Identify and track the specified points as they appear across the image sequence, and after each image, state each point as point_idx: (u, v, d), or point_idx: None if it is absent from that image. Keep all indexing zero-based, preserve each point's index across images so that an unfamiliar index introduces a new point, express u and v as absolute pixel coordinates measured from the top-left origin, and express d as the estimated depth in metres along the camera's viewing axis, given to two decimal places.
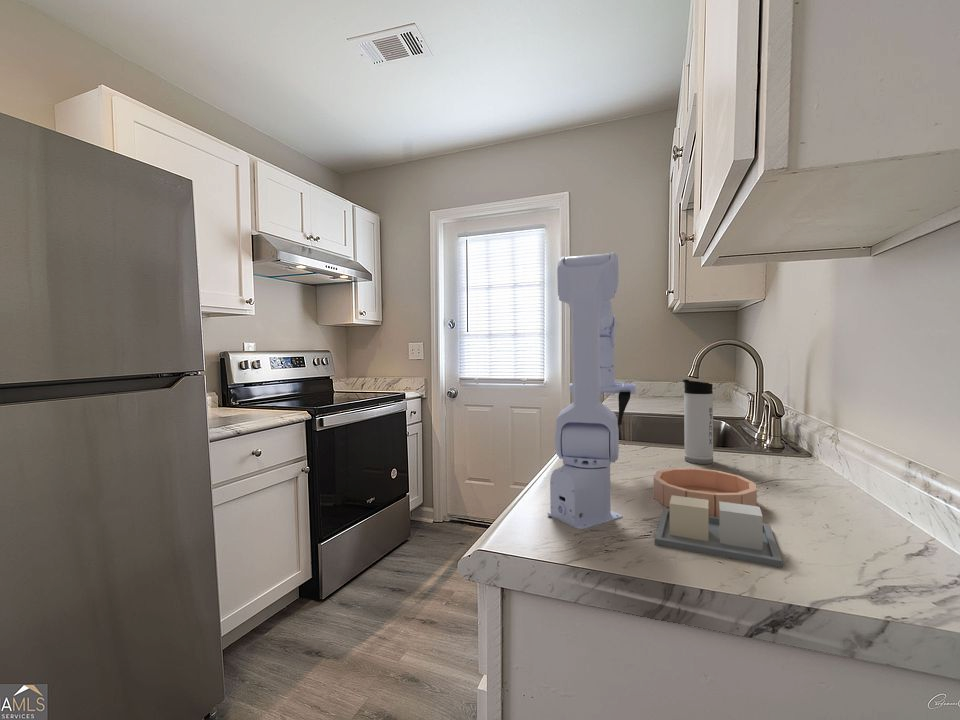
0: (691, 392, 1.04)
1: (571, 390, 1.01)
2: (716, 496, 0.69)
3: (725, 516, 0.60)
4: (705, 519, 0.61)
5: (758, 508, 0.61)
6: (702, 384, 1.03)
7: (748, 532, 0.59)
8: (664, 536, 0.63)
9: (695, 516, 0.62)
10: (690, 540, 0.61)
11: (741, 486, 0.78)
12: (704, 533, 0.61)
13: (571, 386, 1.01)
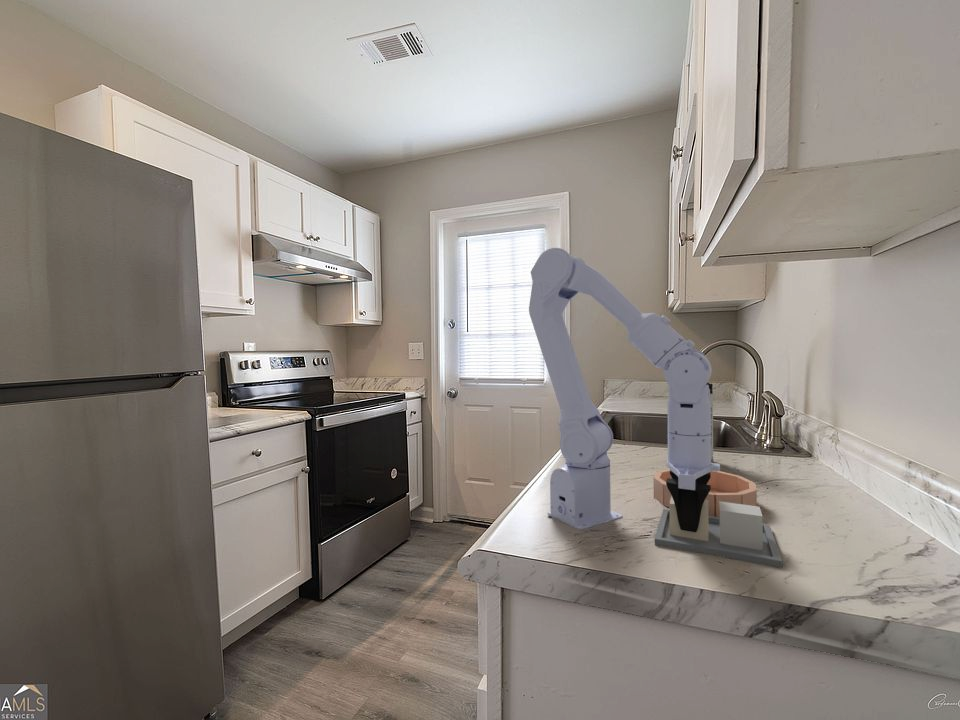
0: None
1: None
2: (716, 496, 0.69)
3: (725, 516, 0.60)
4: (705, 519, 0.61)
5: (758, 508, 0.61)
6: None
7: (748, 532, 0.59)
8: (664, 536, 0.63)
9: None
10: (690, 540, 0.61)
11: (741, 486, 0.78)
12: (704, 533, 0.61)
13: None
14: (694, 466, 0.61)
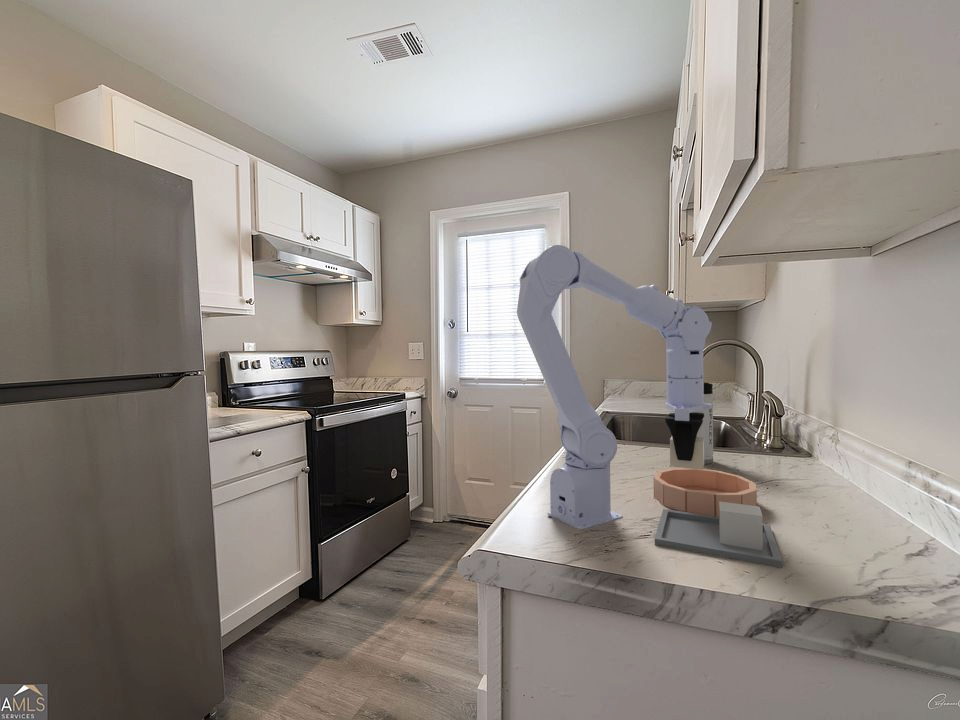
0: None
1: None
2: (716, 496, 0.69)
3: (725, 516, 0.60)
4: (700, 451, 0.71)
5: (758, 508, 0.61)
6: None
7: (748, 532, 0.59)
8: (664, 536, 0.63)
9: None
10: (690, 540, 0.61)
11: (741, 486, 0.78)
12: (699, 463, 0.71)
13: None
14: (689, 404, 0.71)
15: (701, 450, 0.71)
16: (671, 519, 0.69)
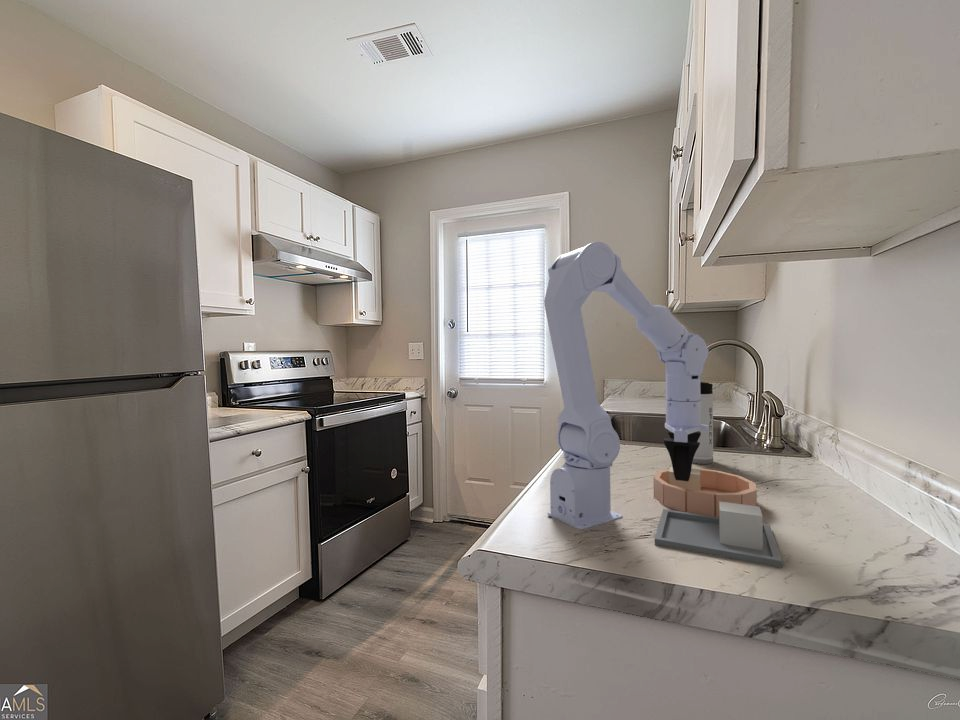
0: None
1: None
2: (716, 496, 0.69)
3: (725, 516, 0.60)
4: (697, 483, 0.76)
5: (758, 508, 0.61)
6: (702, 384, 1.03)
7: (748, 532, 0.59)
8: (664, 536, 0.63)
9: (689, 481, 0.77)
10: (690, 540, 0.61)
11: (741, 486, 0.78)
12: None
13: None
14: (687, 426, 0.76)
15: (698, 482, 0.76)
16: (671, 519, 0.69)
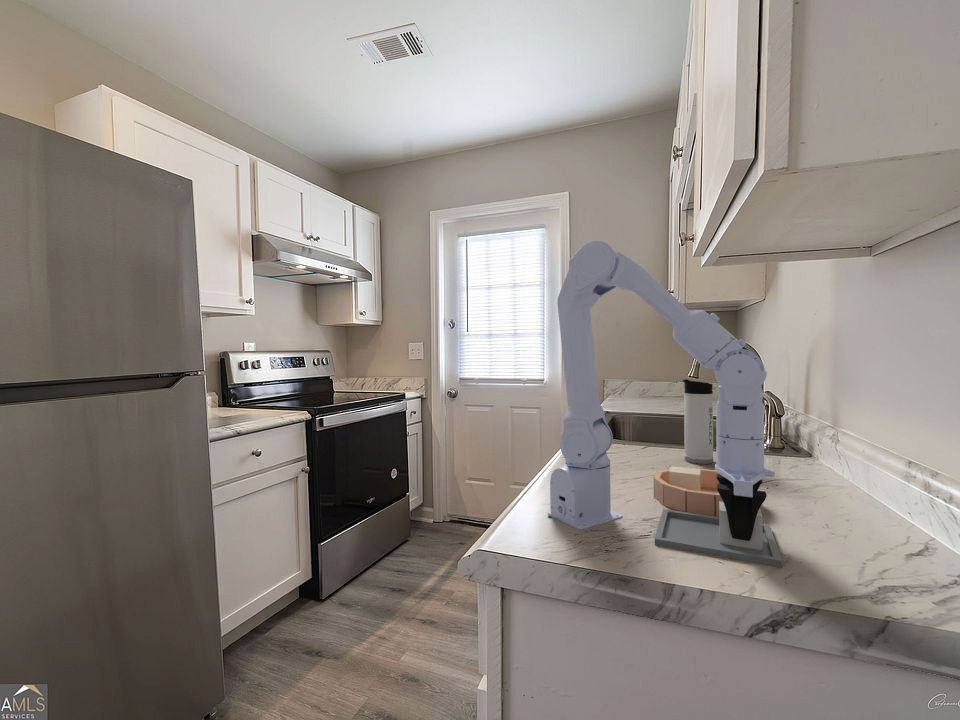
0: (691, 392, 1.04)
1: None
2: (716, 496, 0.69)
3: (725, 516, 0.60)
4: (697, 483, 0.76)
5: None
6: (702, 384, 1.03)
7: None
8: (664, 536, 0.63)
9: (689, 481, 0.77)
10: (690, 540, 0.61)
11: None
12: None
13: None
14: (748, 471, 0.58)
15: (698, 482, 0.76)
16: (671, 519, 0.69)
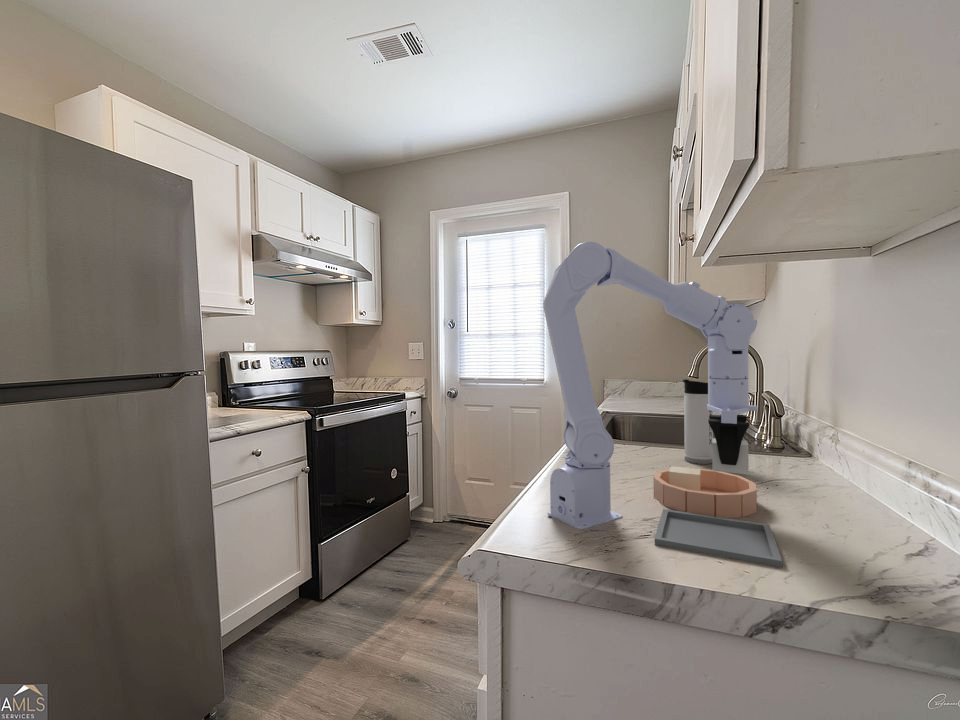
0: (691, 392, 1.04)
1: None
2: (716, 496, 0.69)
3: (717, 447, 0.70)
4: (697, 483, 0.76)
5: (745, 441, 0.71)
6: (702, 384, 1.03)
7: None
8: (664, 536, 0.63)
9: (689, 481, 0.77)
10: (690, 540, 0.61)
11: (741, 486, 0.78)
12: None
13: None
14: (734, 406, 0.68)
15: (698, 482, 0.76)
16: (671, 519, 0.69)
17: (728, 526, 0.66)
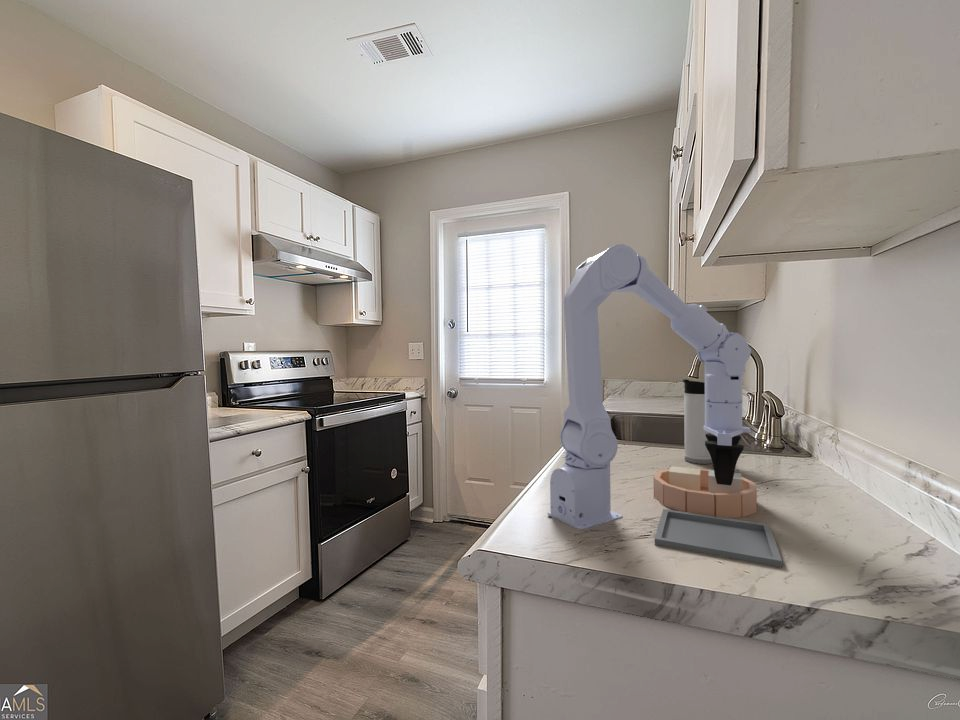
0: (691, 392, 1.04)
1: None
2: (716, 496, 0.69)
3: (712, 480, 0.75)
4: (697, 483, 0.76)
5: (739, 474, 0.76)
6: (702, 384, 1.03)
7: (730, 492, 0.74)
8: (664, 536, 0.63)
9: (689, 481, 0.77)
10: (690, 540, 0.61)
11: None
12: None
13: None
14: (729, 428, 0.73)
15: (698, 482, 0.76)
16: (671, 519, 0.69)
17: (728, 526, 0.66)
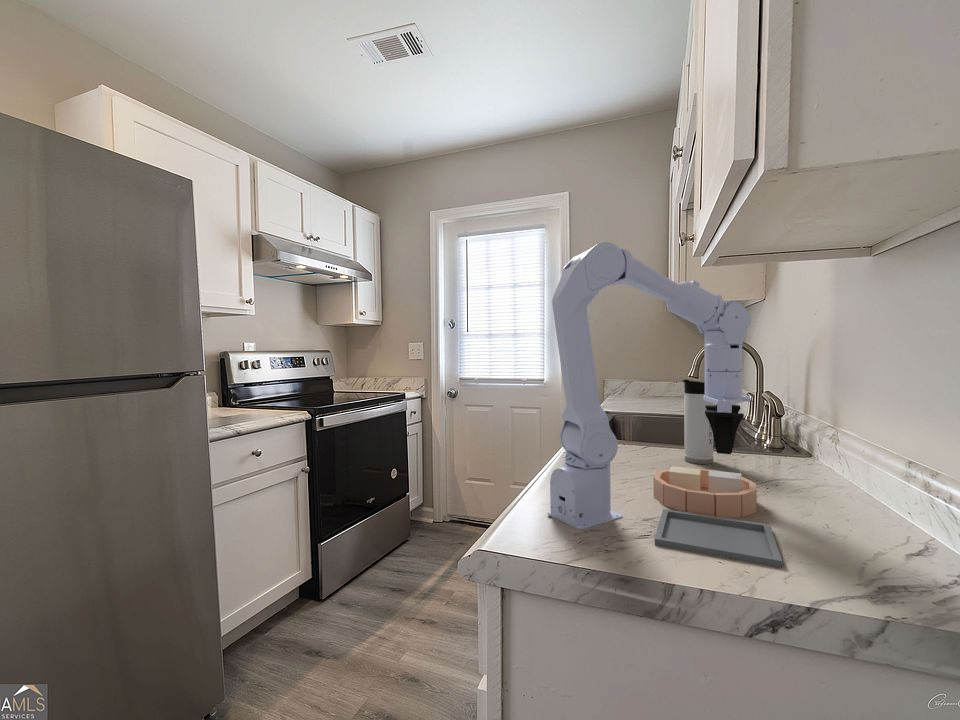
0: (691, 392, 1.04)
1: None
2: (716, 496, 0.69)
3: (712, 480, 0.75)
4: (697, 483, 0.76)
5: (739, 474, 0.76)
6: (702, 384, 1.03)
7: (730, 492, 0.74)
8: (664, 536, 0.63)
9: (689, 481, 0.77)
10: (690, 540, 0.61)
11: None
12: None
13: None
14: (729, 397, 0.73)
15: (698, 482, 0.76)
16: (671, 519, 0.69)
17: (728, 526, 0.66)
